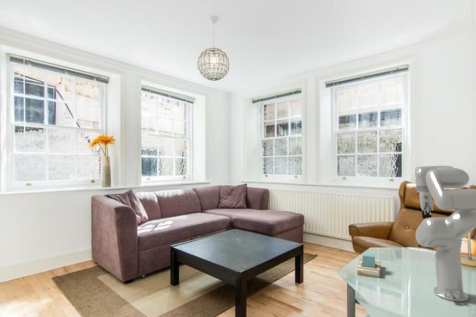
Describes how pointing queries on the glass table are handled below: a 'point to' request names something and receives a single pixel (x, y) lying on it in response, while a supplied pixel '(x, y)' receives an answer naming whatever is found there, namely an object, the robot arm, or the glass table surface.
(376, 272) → the birch base
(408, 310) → the glass table surface
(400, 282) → the glass table surface
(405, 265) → the glass table surface
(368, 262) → the teal block
